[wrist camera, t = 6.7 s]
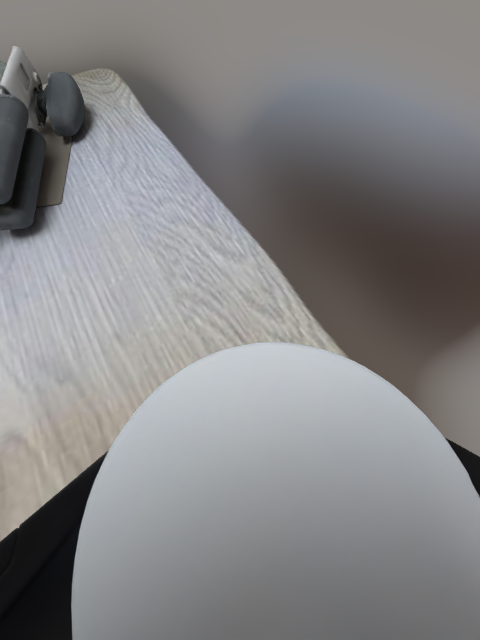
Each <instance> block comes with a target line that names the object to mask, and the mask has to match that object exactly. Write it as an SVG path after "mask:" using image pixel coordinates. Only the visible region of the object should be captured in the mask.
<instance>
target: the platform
mask: <svg viewBox="0 0 480 640" xmlns="http://www.w3.org/2000/svg"><path fill="white" fill-rule="evenodd" d="M1 80H2V76H1V74H0V82H1ZM37 128H38V130H39V132H40V133H41V134H42V135H43V137H44V138H45V140H46V151H45V157H44V163H43V169H42V174H41V180H40V186H39V192H38V198H37V204H36V207H42V206H49V205H55V204H61V201H62V195H63V189H64V183H65V178H66V172H67V166H68V160H69V155H70V149H71V143H72V137H73V135H72V136H63V137H59V136H57V134H56V133H55V132H54V130H53V129H52V127H51V124H50V122H49V119H48V117H47V118H46V123H45V127H43V126H37Z"/></svg>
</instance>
